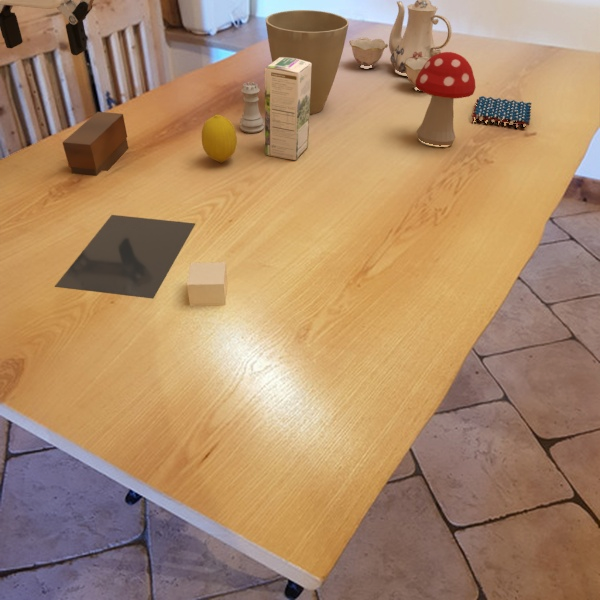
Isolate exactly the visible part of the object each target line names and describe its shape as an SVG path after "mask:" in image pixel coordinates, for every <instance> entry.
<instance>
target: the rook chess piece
mask: <svg viewBox="0 0 600 600" xmlns="http://www.w3.org/2000/svg"><path fill="white" fill-rule="evenodd" d="M240 90H241V93H242V94H243V98H242V101H243V114H242V115H241V118H240V121H239V123H240V125H239V128H240V130H241V131H242V132H244V133H246V134H257V133H260V132H262V131H263V130H264V129H265V124H264V123H265V119H264V118H263V117H262V114H261V112H260V108H259V100H260V97H258V94H259V93H260V91H261V89H260V88H259V86H258V83H256V82H252V81H251V83H250V82H249V81H247V82H246V83H245V82H244V83H243V84H242V88H241V89H240Z"/></svg>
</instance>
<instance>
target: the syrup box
mask: <svg viewBox="0 0 600 600" xmlns="http://www.w3.org/2000/svg"><path fill="white" fill-rule="evenodd" d="M271 62H272V61H271ZM311 67H312V63H310V62H307V61H304V60H300V59H295V58H286V57H279V58H278V59H277V60H275V61H274V62H272V63H270V64H268V65H267V66H265V67H264V154H265V155H266V156H269V157H275V158H281V159H284V160H285V159H286V160H292V161H297V160H298V159H299V158H300V156H301V155H303V154H304V152H305V151H306V150H307V149H308V147H309V132H310V114H309V113H310V90H311Z"/></svg>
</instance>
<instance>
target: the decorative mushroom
mask: <svg viewBox="0 0 600 600" xmlns="http://www.w3.org/2000/svg"><path fill="white" fill-rule="evenodd" d="M415 85H416V86H415V87H417V88H418V89H419V90H420V91H423V92H422V93H424V94H427V95H429V96H431V98H430V100H429V104H428V106H427V108H426V111H425V114H424V117H423V120H422V121H421V122H422V123H421V124H420V125H419V127H418V129H417V130H416V136H417V139H418V138H419V139H420V140H421V141H423V142H425V143H429V144H433V145H439V146H441V145H450V144H451V145H452V144H453V143H454V141H455V139H456V134H455V130H454V99H455V100H456V99H463V98H469V97H471V96H473V95H474V94H475V91H476V79H475V75H474V71H473V68H472V66H471V64H470V62H469V61H468V60H467V59H466V57H464V56H462V55H461V54H459V53H456V52H451V51H444V52H441V53H439V54H436V55H434V56H433V57H431V58H430V59H429V60H428V61H427V62H426V63H425V65H424V67H423V68H422V70H421V71H420V73H419V74H418V76H417V79H416V84H415Z"/></svg>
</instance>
